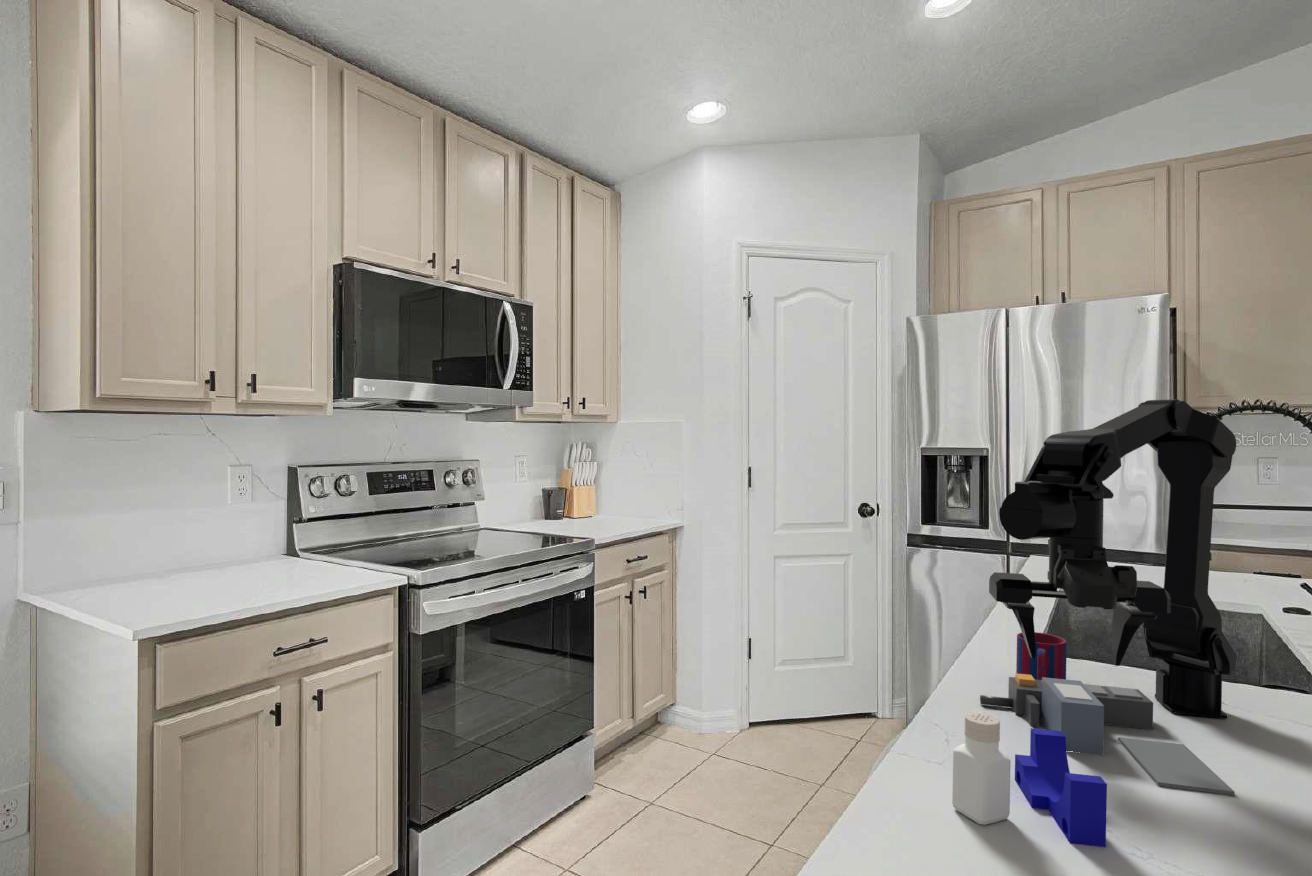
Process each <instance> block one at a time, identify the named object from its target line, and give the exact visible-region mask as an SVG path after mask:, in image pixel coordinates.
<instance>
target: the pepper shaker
mask: <svg viewBox="0 0 1312 876" xmlns="http://www.w3.org/2000/svg"><path fill="white" fill-rule="evenodd" d="M1000 730H1001V721H1000V719H999V718H998V717H996V716H994V715H992V714H988V713H986V712H979V711H978V712H977V711H975V712H968V713H965V714H964V731H963V732H964V733H963V735H964V743H962V744H960V745H958V746H956V747H955V748H954V749H953V751H952V752H953V753H952V794H951V795H952V802H951V803H952V807H953V808H954V809H955V810H956V811H958V812H959V813H960V814H963V815H964V816H966V817H967V818H969V819H971V820H972V821H974V823H975V822H976V823H977V824H978V825H979V824H980V825H985V826H986V825H988V824H993V823H997V822H1000V821H1004V820H1007V819H1008V818H1009V816H1010V813H1011V811H1010V810H1011V809H1010V807H1011V763H1012V762H1011V759H1010V757H1009V756H1008V754H1006V753H1004V752H1003V751H1002V750H1000V749H999V747H1000V745H999V744H1000V741H1001V737H1000V736H1001V734H1000V732H1001V731H1000Z"/></svg>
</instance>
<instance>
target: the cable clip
mask: <svg viewBox="0 0 1312 876" xmlns="http://www.w3.org/2000/svg"><path fill="white" fill-rule="evenodd" d="M1029 736H1030V739H1029V740H1030V741H1029V742H1030V743H1029V744H1030V745H1029V746H1030V748H1029V755H1028V754H1027V755H1025V754H1017V753H1016V754H1014V781H1015V783H1016V785H1017V786H1018V788H1019V790H1020V791H1021V793H1022V795H1023V797H1024V798H1025V799H1026V801H1027V803H1028V804H1029V806H1030V808H1031V809H1039V810H1045V811H1047V810H1048V812H1049V814H1050V815H1051V816H1052V818H1053V820H1054V822H1055V823H1056V824H1057V826H1058V827H1059V829H1060V831H1061V833H1063V835H1064V837H1065V838H1066V839H1067V842H1068V843H1069V844H1074V845H1082V846H1088V847H1089V846H1090V847H1098V848H1106V847H1107V811H1108V810H1107V809H1108V808H1107V799H1108V798H1107V797H1108V795H1107V794H1108V784H1107V782H1106V781H1105V780H1104V779H1103V778H1102V776H1101V775H1092V774H1091V775H1090V774H1080V773H1071V772H1070V766H1069V761H1068V755H1067V753H1068V752H1066V736H1065V735H1064V734H1063V733H1062V732H1061V731H1055V730H1046V728H1045V729H1042V728H1032V727H1031V728H1030V735H1029Z"/></svg>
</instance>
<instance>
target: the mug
mask: <svg viewBox="0 0 1312 876" xmlns="http://www.w3.org/2000/svg"><path fill="white" fill-rule="evenodd" d="M1035 641H1036V658H1035V659H1033V658H1031V656H1030V654H1029V651H1028V648H1027V645H1026V643H1025V640H1024V637H1023V634H1022V632H1019V633H1017V634H1016V664H1015V665H1016V666H1015V667H1016V669H1015V670H1016V671H1015V673H1017V674H1027V675H1032V677H1033V678H1034V679H1036V680H1042V677H1045V678H1055V679H1066V680H1067V646H1068V645H1067V644H1068V643H1067V642H1068V641H1067V640H1066V639H1065V638H1063V637H1061V636H1057V635H1056V634H1055V635H1054V634H1050V633H1045V632H1038V631H1037V632H1036V631H1035Z"/></svg>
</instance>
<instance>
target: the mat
mask: <svg viewBox="0 0 1312 876" xmlns="http://www.w3.org/2000/svg"><path fill="white" fill-rule="evenodd" d="M1117 740H1118V742H1119V743H1120V744H1121V745H1122V746H1123V747H1124V748H1125V749H1124V750H1125V751H1127V752H1128V753H1129V755H1130V756H1131V757H1132V758H1133V760H1135V761H1136V763H1137V764H1138V765H1139V766H1140V767H1141V768H1142V769H1143V771H1144V772H1145V773H1146V774H1147V775H1148V776H1149V777H1150V778H1151V780H1153V782H1154V783H1155V784H1156V785H1157V786H1158V787H1165V788H1166V787H1167V788H1173V789H1181V790H1187V791H1188V790H1190V791H1196V792H1203V793H1211V794H1220V795H1228V796H1229V795H1230V796H1235V793H1236V792H1235V790H1234V789H1232V788H1231V787H1230V785H1228V784H1227V783H1226V782H1225V781H1224V780H1223V779H1221V777H1220V776H1218V774H1217V773H1215V772H1214V771H1213V770H1212V769H1211V768H1210V767H1209V766H1208V765H1207V764H1206V763H1204V762H1203V761H1202V760H1201V759H1200V758H1199V757H1198V756H1197V755H1196V754H1195V753H1194V752H1193V751H1192V750H1190V749H1189V748H1188V747H1187V746H1186V745H1185V744H1184V743H1176V742H1175V743H1174V742H1169V741H1168V742H1166V741H1159V740H1148V739H1140V738H1131V737H1121V736H1118V737H1117Z"/></svg>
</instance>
